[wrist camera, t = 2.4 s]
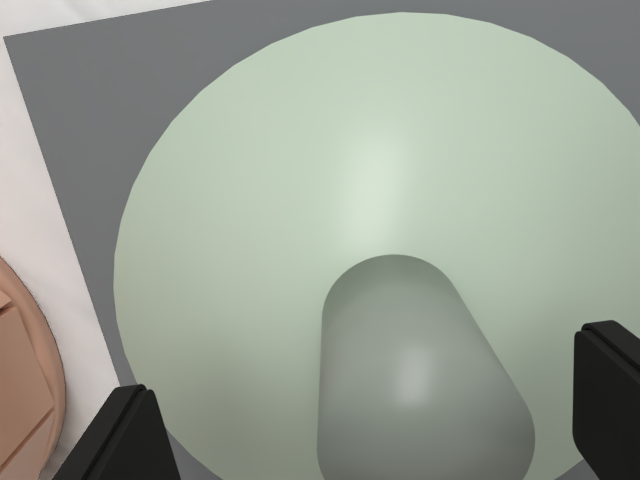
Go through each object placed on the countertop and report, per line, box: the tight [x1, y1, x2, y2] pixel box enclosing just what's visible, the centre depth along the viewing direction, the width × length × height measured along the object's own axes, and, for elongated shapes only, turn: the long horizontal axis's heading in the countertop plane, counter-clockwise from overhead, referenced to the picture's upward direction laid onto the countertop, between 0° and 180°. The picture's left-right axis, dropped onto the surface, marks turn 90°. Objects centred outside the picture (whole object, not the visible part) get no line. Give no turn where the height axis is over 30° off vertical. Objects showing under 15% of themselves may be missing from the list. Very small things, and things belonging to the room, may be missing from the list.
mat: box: [3, 0, 640, 480], centre depth 14 cm, size 18×18×1 cm
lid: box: [113, 12, 640, 480], centre depth 11 cm, size 16×16×6 cm
